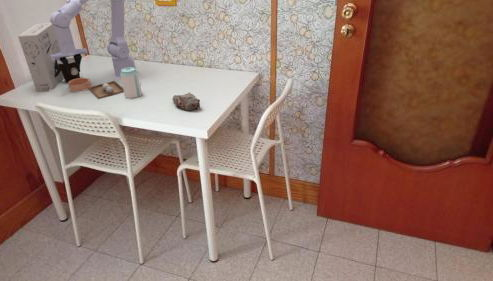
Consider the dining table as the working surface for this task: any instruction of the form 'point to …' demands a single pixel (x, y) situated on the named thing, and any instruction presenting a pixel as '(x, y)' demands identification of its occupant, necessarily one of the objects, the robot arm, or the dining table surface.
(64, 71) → the coffee mug
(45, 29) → the cereal box
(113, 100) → the dining table surface
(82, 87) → the bowl
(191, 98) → the mineral rock
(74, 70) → the pebble
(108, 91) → the pebble
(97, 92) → the tray
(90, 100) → the dining table surface
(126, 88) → the can
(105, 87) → the white ball
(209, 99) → the dining table surface
